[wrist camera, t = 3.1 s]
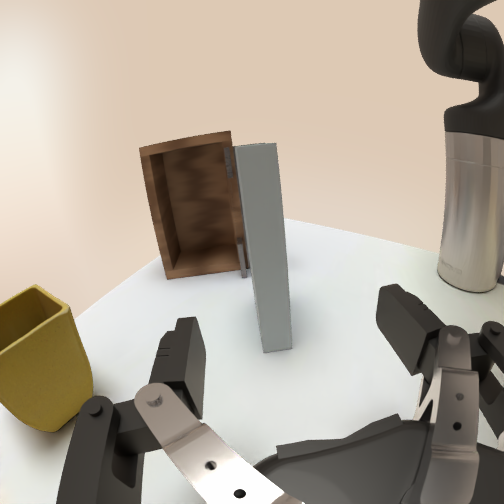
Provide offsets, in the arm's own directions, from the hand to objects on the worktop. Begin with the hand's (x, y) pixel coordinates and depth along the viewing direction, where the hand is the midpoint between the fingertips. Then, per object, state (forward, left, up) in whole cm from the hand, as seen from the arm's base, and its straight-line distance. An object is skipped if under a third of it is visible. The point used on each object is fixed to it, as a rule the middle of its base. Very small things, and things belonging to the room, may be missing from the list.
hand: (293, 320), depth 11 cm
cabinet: (+7, -28, -9) cm, 31 cm away
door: (0, -12, -9) cm, 15 cm away
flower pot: (+19, -2, -9) cm, 21 cm away
